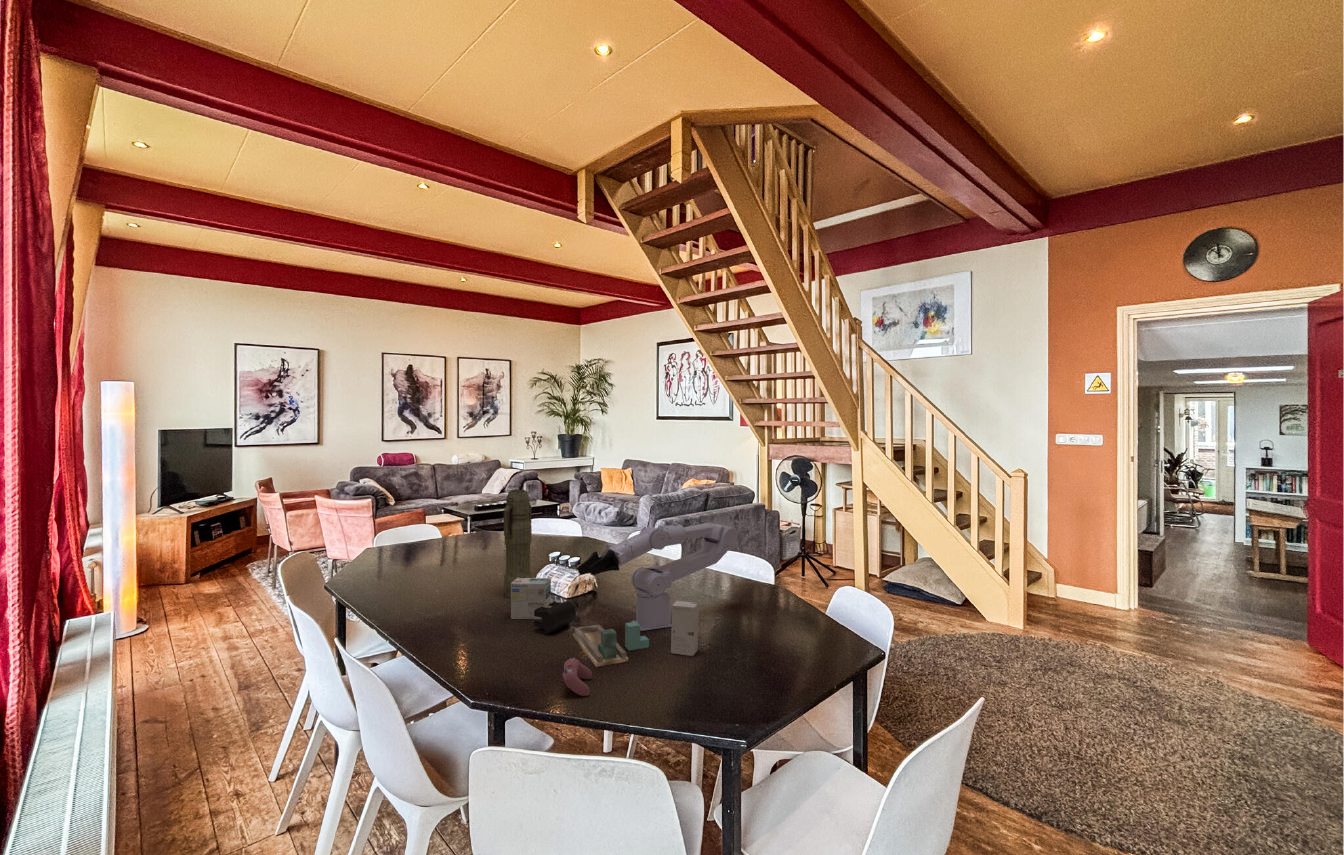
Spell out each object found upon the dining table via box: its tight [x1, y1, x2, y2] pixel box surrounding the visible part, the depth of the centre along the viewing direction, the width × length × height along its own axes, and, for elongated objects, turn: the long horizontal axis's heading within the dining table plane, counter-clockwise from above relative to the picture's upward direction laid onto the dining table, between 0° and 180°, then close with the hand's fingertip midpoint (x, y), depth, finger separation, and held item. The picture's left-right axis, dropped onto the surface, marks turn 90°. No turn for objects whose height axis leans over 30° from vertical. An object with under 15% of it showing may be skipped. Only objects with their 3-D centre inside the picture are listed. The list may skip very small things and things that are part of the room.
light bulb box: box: [510, 577, 552, 620], centre depth 178 cm, size 11×7×11 cm, turn 88°
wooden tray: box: [572, 624, 629, 668], centre depth 152 cm, size 8×22×7 cm, turn 24°
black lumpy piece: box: [533, 600, 577, 635], centre depth 167 cm, size 10×7×7 cm
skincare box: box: [670, 600, 700, 657], centre depth 149 cm, size 6×4×12 cm
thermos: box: [503, 489, 533, 599], centre depth 200 cm, size 9×12×35 cm
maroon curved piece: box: [562, 657, 593, 697], centre depth 129 cm, size 10×5×7 cm, turn 5°
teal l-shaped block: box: [624, 621, 650, 651], centre depth 153 cm, size 5×3×6 cm, turn 114°
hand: (584, 571), depth 157 cm, fingers open, 7 cm apart
